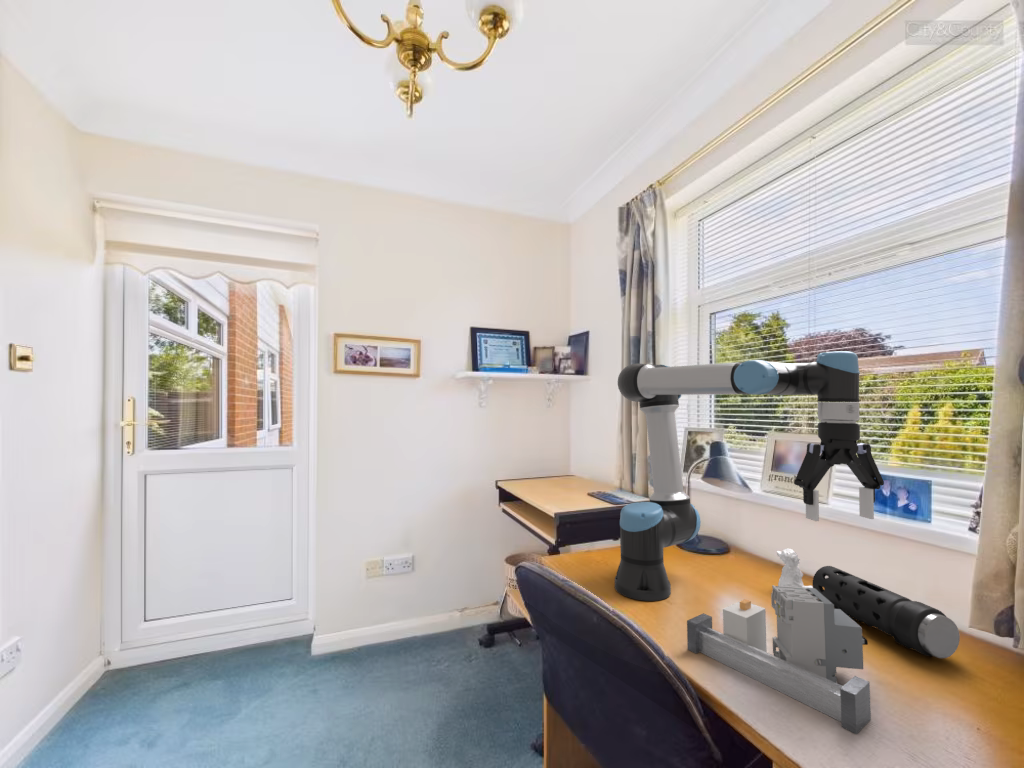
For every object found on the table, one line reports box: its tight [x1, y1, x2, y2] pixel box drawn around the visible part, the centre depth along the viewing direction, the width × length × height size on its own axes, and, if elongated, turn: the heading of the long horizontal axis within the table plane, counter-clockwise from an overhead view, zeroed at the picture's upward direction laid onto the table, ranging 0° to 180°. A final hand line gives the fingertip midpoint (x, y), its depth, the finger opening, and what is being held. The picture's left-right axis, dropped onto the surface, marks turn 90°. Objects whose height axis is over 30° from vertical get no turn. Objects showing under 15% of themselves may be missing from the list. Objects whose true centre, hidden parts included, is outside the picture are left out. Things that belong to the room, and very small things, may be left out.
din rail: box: [686, 613, 872, 735], centre depth 85 cm, size 30×6×6 cm, turn 34°
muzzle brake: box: [812, 565, 961, 660], centre depth 104 cm, size 10×28×10 cm, turn 7°
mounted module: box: [722, 598, 768, 653], centre depth 95 cm, size 5×8×10 cm, turn 124°
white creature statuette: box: [776, 547, 813, 588], centre depth 125 cm, size 10×9×12 cm
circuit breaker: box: [770, 584, 869, 683], centre depth 87 cm, size 8×14×15 cm, turn 78°
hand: (839, 518), depth 99 cm, fingers open, 13 cm apart
